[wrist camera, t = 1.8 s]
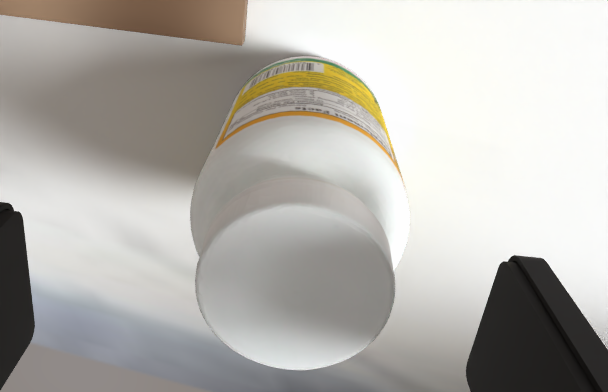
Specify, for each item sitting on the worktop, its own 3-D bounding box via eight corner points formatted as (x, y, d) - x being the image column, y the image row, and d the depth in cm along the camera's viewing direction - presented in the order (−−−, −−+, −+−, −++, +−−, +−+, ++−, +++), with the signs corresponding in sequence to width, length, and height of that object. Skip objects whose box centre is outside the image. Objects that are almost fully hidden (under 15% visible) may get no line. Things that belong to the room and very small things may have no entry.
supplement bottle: (281, 20, 19) (248, 110, 10) (414, 109, 21) (492, 261, 11) (201, 151, 22) (114, 323, 12) (326, 225, 23) (331, 430, 14)
